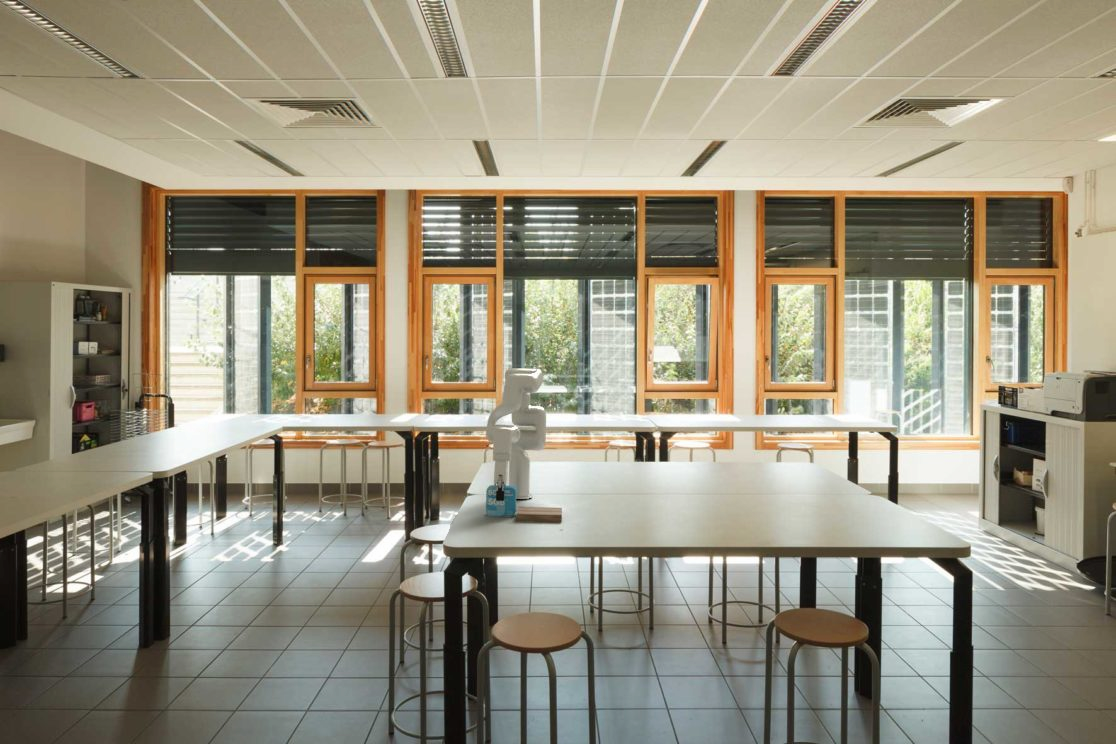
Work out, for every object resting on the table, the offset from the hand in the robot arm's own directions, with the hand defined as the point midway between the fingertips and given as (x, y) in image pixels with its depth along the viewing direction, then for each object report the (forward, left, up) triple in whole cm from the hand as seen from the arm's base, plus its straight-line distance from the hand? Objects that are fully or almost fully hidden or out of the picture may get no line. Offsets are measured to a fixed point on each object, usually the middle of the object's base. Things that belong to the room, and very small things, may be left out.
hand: (501, 498), depth 312 cm
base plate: (+3, +16, -7) cm, 18 cm away
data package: (-1, 0, -7) cm, 7 cm away
